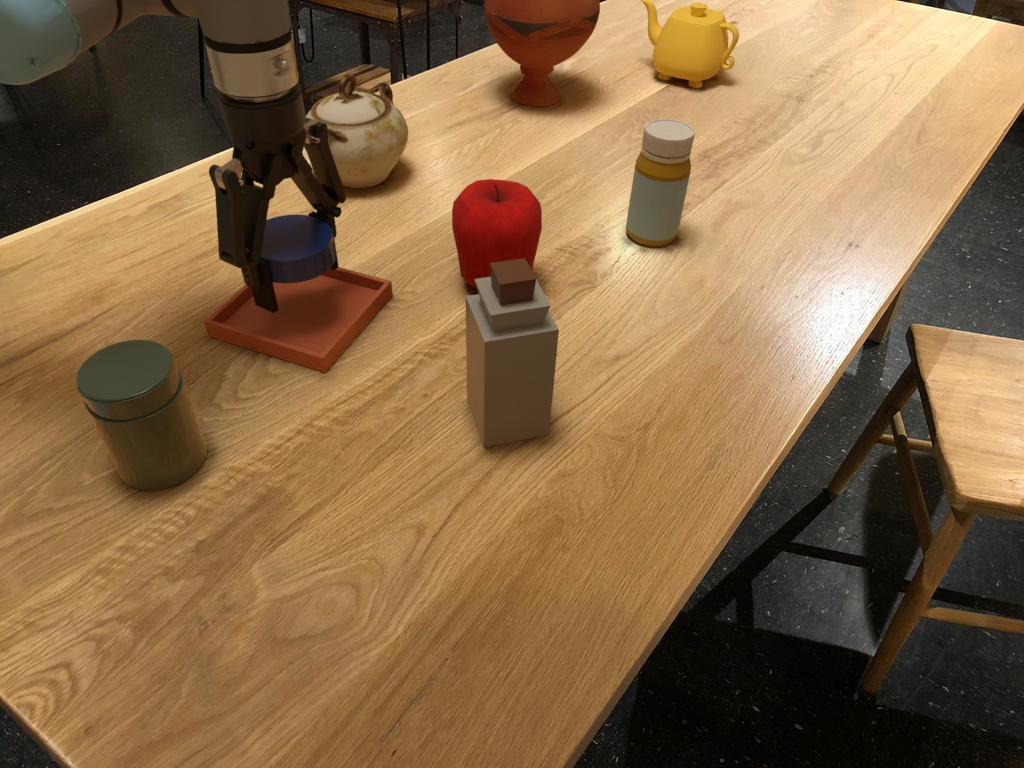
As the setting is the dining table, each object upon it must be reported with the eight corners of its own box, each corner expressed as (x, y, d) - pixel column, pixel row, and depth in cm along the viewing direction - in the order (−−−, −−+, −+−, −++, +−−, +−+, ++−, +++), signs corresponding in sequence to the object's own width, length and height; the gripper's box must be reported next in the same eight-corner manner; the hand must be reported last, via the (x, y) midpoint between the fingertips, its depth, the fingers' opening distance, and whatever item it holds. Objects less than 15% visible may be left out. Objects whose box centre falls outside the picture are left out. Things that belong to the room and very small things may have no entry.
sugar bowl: (365, 218, 105) (353, 112, 95) (277, 192, 109) (256, 88, 99) (436, 158, 118) (432, 60, 108) (355, 137, 122) (343, 40, 112)
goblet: (565, 129, 127) (579, -37, 110) (463, 105, 133) (461, -56, 116) (605, 89, 140) (623, -65, 123) (510, 68, 145) (515, -82, 128)
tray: (207, 336, 86) (203, 321, 84) (285, 265, 96) (282, 251, 95) (325, 372, 82) (322, 358, 80) (392, 295, 92) (391, 281, 91)
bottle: (662, 217, 107) (681, 114, 97) (685, 244, 102) (708, 138, 92) (617, 225, 106) (631, 120, 95) (638, 252, 101) (656, 145, 90)
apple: (472, 316, 90) (472, 215, 80) (441, 270, 96) (437, 171, 87) (552, 295, 93) (560, 196, 84) (516, 252, 100) (520, 155, 91)
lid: (351, 264, 83) (348, 242, 81) (273, 294, 79) (267, 271, 77) (311, 227, 88) (308, 205, 86) (236, 253, 84) (230, 230, 82)
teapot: (716, 98, 138) (732, 24, 129) (616, 73, 145) (625, 1, 137) (741, 74, 147) (758, 3, 138) (646, 52, 154) (656, -17, 145)
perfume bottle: (549, 434, 76) (562, 287, 64) (483, 447, 75) (484, 299, 62) (528, 389, 81) (538, 244, 69) (467, 400, 79) (465, 254, 67)
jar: (99, 475, 71) (51, 384, 63) (158, 418, 76) (121, 328, 68) (169, 501, 69) (129, 412, 61) (224, 441, 74) (194, 352, 66)
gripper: (194, 140, 62) (251, 349, 78) (366, 60, 76) (385, 251, 92) (133, 118, 65) (199, 324, 81) (309, 44, 79) (337, 232, 94)
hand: (298, 285), depth 86 cm, fingers closed on lid, 9 cm apart
